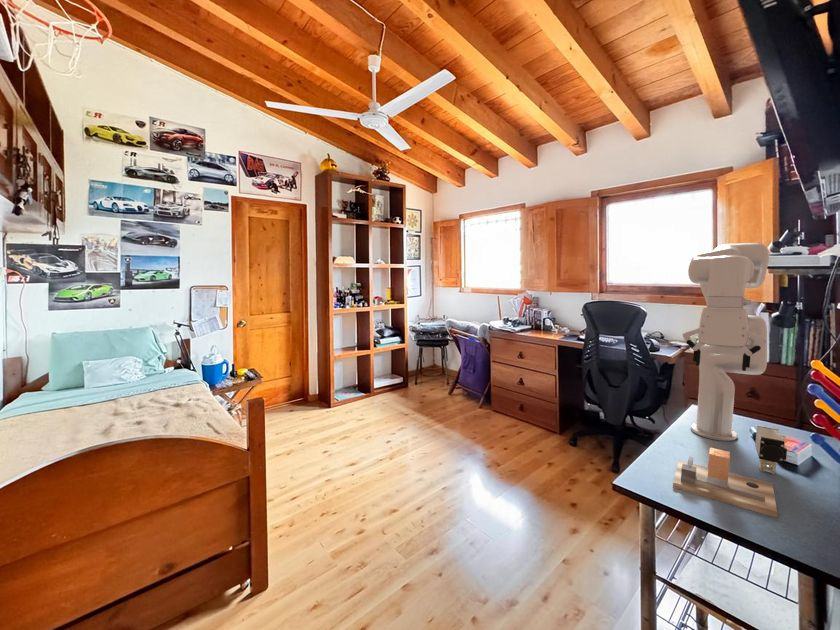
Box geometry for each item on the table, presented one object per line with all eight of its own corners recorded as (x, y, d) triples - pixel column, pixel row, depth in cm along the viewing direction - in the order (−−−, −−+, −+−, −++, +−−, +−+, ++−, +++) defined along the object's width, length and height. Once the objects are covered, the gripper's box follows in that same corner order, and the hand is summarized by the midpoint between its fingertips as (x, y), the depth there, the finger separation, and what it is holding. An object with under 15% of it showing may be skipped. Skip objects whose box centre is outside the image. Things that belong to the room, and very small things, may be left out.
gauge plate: (678, 464, 110) (679, 448, 109) (771, 489, 97) (773, 470, 97) (672, 487, 99) (673, 469, 99) (776, 517, 87) (778, 497, 86)
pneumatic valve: (758, 477, 103) (761, 435, 101) (753, 458, 112) (756, 420, 110) (786, 483, 99) (790, 440, 98) (778, 464, 109) (782, 424, 107)
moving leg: (708, 471, 103) (710, 440, 101) (727, 476, 100) (729, 444, 99) (706, 487, 96) (709, 453, 95) (727, 492, 93) (729, 458, 92)
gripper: (768, 303, 96) (762, 369, 98) (685, 301, 107) (682, 360, 109) (770, 305, 90) (764, 375, 92) (683, 302, 101) (679, 365, 103)
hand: (720, 367), depth 100 cm, fingers open, 9 cm apart
